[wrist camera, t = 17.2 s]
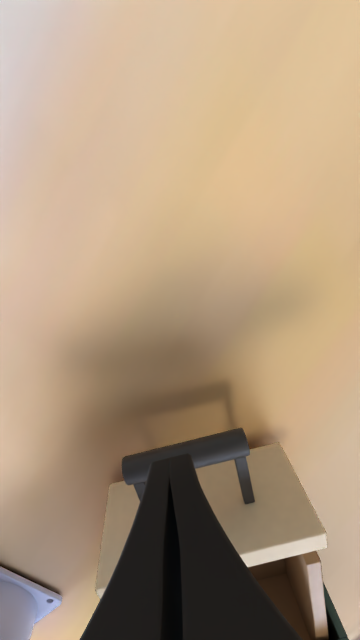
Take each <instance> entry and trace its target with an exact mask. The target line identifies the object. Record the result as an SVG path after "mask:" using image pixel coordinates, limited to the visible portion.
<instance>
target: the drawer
mask: <svg viewBox="0 0 360 640" xmlns="http://www.w3.org/2000/svg"><path fill="white" fill-rule="evenodd" d="M186 453H188V454H190V455H191V456H192V459H193V463H194V466H195V470H196V473H197V477H198V480H199V483H200V485H201V488H202V490H203V492H204V494H205V496H206V498H207V500H208V502H209V504H210V506H211V508H212V510H213V512H214V514H215V516H216V517H217V519H218V521H219V523H220V524H221V526H222V528H223V530H224V531H225V533H226V535H227V536H228V538H229V540H230V541H231V543H232V544H233V546H234V548H235V549H236V551H237V552H238V554H239V555H240V557H241V558H242V560H243V561H244V563H245V564H246V566H247V567H248V569H249V570H250V572H251V573H252V574H253V576H254V577H255V579H256V580H257V582H258V583H259V584H260V586H261V587H262V588H263V590H264V591H265V592H266V594H267V595H268V596H269V598H270V599H271V600H272V601H273V603H274V604H275V605H276V607H277V608H278V609H279V611H280V612H281V613H282V615H283V616H284V617H285V619H286V620H287V621H288V622H289V624H290V625H291V626H292V627H293V628H294V630H295V631H296V632H297V633H298V635H299V636H300V637H301V638H302V639H303V640H329V636H328V627H327V617H326V607H325V597H324V588H323V578H322V568H321V560H320V558H319V556H318V554H317V552H316V550H320V549H324V548H327V537H326V531H325V529H324V527H323V526H322V524H321V522H320V520H319V518H318V516H317V514H316V512H315V510H314V508H313V506H312V504H311V502H310V500H309V499H308V497H307V495H306V493H305V491H304V489H303V487H302V485H301V483H300V481H299V479H298V477H297V475H296V473H295V472H294V470H293V468H292V466H291V464H290V462H289V460H288V458H287V456H286V454H285V452H284V450H283V448H282V447H281V445H280V443H279V442H278V443H274V444H270V445H266V446H262V447H258V448H253V449H249V446H248V442H247V439H246V435H245V433H244V430H243V429H242V428H238V429H234V430H230V431H226V432H222V433H218V434H214V435H210V436H206V437H202V438H198V439H194V440H190V441H186V442H182V443H177V444H173V445H169V446H165V447H161V448H157V449H153V450H149V451H145V452H141V453H137V454H133V455H129V456H125V457H124V458H123V459H122V473H123V478H124V481H121V482H117V483H113V484H110V485H109V492H108V499H107V506H106V513H105V521H104V528H103V535H102V542H101V550H100V557H99V564H98V571H97V579H96V586H95V591H96V593H97V595H98V596H99V598H100V600H101V598H102V596H103V594H104V591H105V589H106V587H107V585H108V583H109V581H110V579H111V576H112V574H113V572H114V570H115V567H116V565H117V563H118V560H119V558H120V556H121V553H122V551H123V548H124V545H125V543H126V540H127V538H128V535H129V533H130V530H131V527H132V525H133V522H134V519H135V516H136V513H137V510H138V507H139V504H140V501H141V497H142V494H143V491H144V487H145V484H146V480H147V476H148V472H149V467H150V464H151V463H152V462H154V461H158V460H162V459H166V458H170V457H174V456H178V455H182V454H186Z"/></svg>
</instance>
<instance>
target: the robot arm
mask: <svg viewBox="0 0 360 640" xmlns="http://www.w3.org/2000/svg"><path fill="white" fill-rule="evenodd" d="M61 602H62V596H61V595H59V594H57V593H55V592H53V591H51V590H49V589H46V588H44V587H42V586H40V585H38V584H36V583H34V582H32V581H30V580H28V579H25V578H23V577H21V576H19V575H17V574H15V573H13V572H11V571H9V570H7V569H4V568H2V567H0V640H30V637H31V633H32V630H33V626H34V624H35V623H36V622H38V621H39V620H40V619H42V618H43V617H44V616H46V615H47V614H48V613H50V612H51V611H52V610H54V609H55V608H56V607H58V606H59V605H60V604H61ZM80 640H303V639H302V638H301V637H300V636H299V635H298V633H297V632H296V631H295V630H294V628H293V627H292V626H291V625H290V624H289V622H288V621H287V620H286V619H285V617H284V616H283V615H282V613H281V612H280V611H279V609H278V608H277V607H276V605H275V604H274V603H273V601H272V600H271V599H270V598H269V596H268V595H267V594H266V592H265V591H264V590H263V588H262V587H261V586H260V584H259V583H258V582H257V580H256V579H255V577H254V576H253V574H252V573H251V572H250V570H249V569H248V567H247V566H246V564H245V563H244V561H243V560H242V558H241V557H240V555H239V554H238V552H237V551H236V549H235V548H234V546H233V544H232V543H231V541H230V540H229V538H228V536H227V535H226V533H225V531H224V530H223V528H222V526H221V524H220V523H219V521H218V519H217V517H216V516H215V514H214V512H213V510H212V508H211V506H210V504H209V502H208V500H207V498H206V496H205V494H204V492H203V490H202V488H201V485H200V483H199V480H198V477H197V473H196V470H195V466H194V463H193V459H192V456H191V455H190V454H188V453H186V454H182V455H178V456H174V457H170V458H166V459H162V460H158V461H154V462H152V463H151V464H150V467H149V472H148V476H147V480H146V484H145V487H144V491H143V494H142V497H141V501H140V504H139V507H138V510H137V513H136V516H135V519H134V522H133V525H132V527H131V530H130V533H129V535H128V538H127V540H126V543H125V545H124V548H123V551H122V553H121V556H120V558H119V560H118V563H117V565H116V567H115V570H114V572H113V574H112V576H111V579H110V581H109V583H108V585H107V587H106V589H105V591H104V594H103V596H102V598H101V600H100V602H99V604H98V606H97V608H96V610H95V612H94V613H93V615H92V617H91V619H90V621H89V623H88V625H87V627H86V629H85V631H84V633H83V635H82V636H81V638H80Z"/></svg>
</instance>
